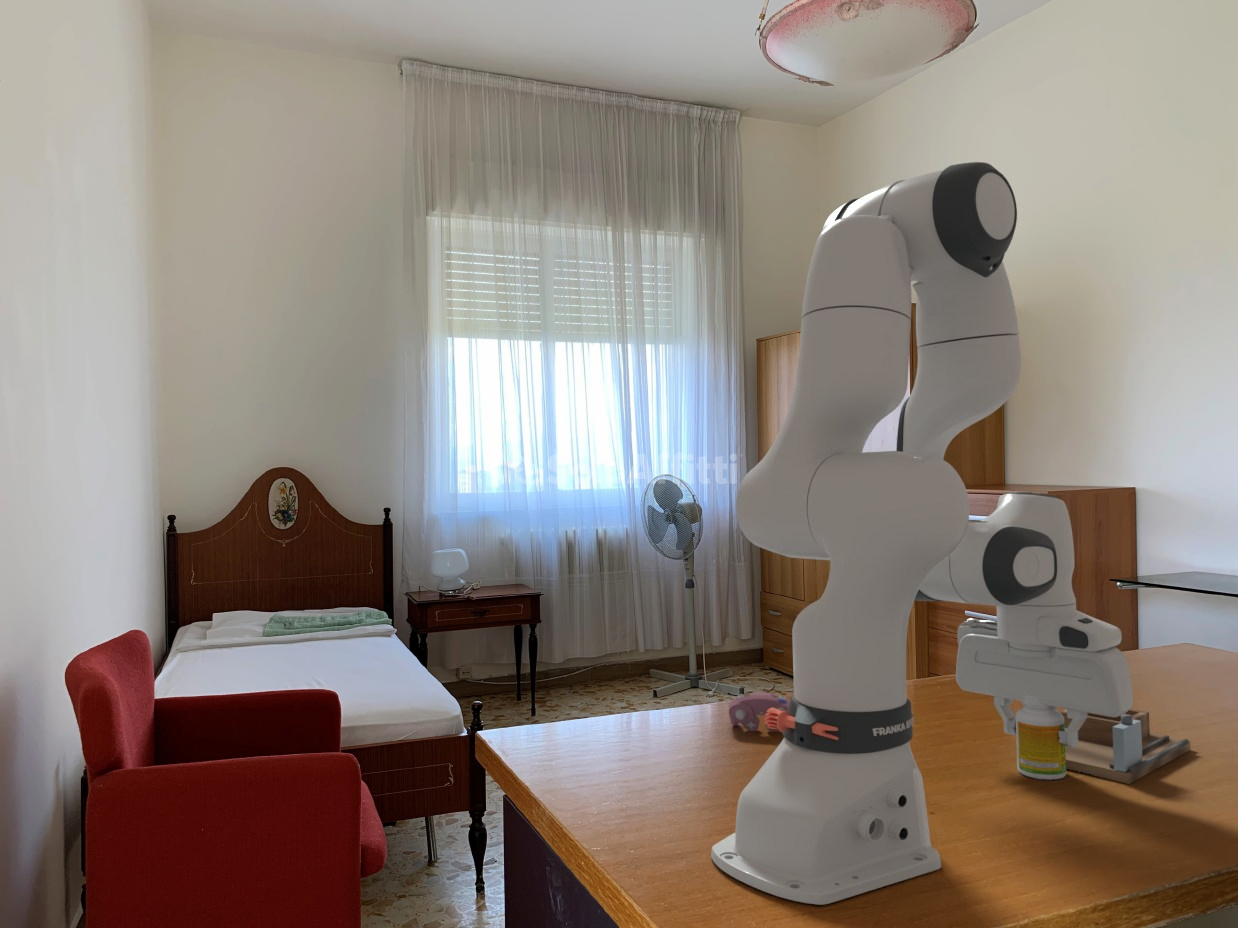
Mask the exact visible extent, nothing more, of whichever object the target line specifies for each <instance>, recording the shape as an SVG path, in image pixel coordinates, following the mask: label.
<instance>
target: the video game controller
mask: <svg viewBox="0 0 1238 928" xmlns="http://www.w3.org/2000/svg"><path fill="white" fill-rule="evenodd" d="M789 703H790V699H788V697H787V696H786V695H784V694H781V695H779V696H777V695H775V694H772V693H769V692H761V691H759V692H757V691H756V692H752V693H750V694H746V695H745V694H743V693H739V694H738V695H737V696H736V697H735V698H734V699H732V700H731V702H730V704H729V707H728V715H729V721H730V723H731V725H732V726H733V727H737V726H738V725H739V724H741V725H742V727H743V728H744V729H745V730H747V731H748V732H756V731H757V730H758V729H759V728H760V722H761V721H760V718H759V717H758V716H762V715H763V716H765V714H767V713H768V712H767V710H768V709H770V708H776V709H778V710H780V711H788V707H789ZM765 722H768V721H765ZM767 726H768V725H766V724H765V729H766V730H767V731H769V732H771V733H778V732H779V731H780V730H779V729H771V728H768V727H767Z"/></svg>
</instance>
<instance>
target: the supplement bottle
mask: <svg viewBox="0 0 1238 928" xmlns="http://www.w3.org/2000/svg"><path fill="white" fill-rule="evenodd" d="M1020 702H1021V705H1022V706H1023V707H1021V708H1019V709H1018V710H1017V711H1016V712H1015V718H1016V735H1015V741H1016V743H1015V744H1016V745H1015V746H1016V765H1017V767H1016V768H1017V771H1018V773H1020V774H1021V775H1022V776H1023V775H1024V776H1025V777H1029V778H1032V779H1037V780H1044V779H1045V780H1049V781H1050V780H1052V781H1053V779H1054V780H1061V779H1063V778H1065V777H1066V775H1067V769H1066V753H1065V746H1063V745H1060V744H1059V739H1060V737H1059V730H1062V729H1064V728H1065V726H1064V717H1063V715H1062V714H1061V713H1060V711H1059V710H1056V707H1053V706H1048V705H1043V704H1041V703H1040V702H1039V700H1038V698H1037V697H1036V696H1031V695H1025V698H1024V700H1023V701H1020Z"/></svg>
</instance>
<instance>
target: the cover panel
mask: <svg viewBox="0 0 1238 928" xmlns="http://www.w3.org/2000/svg"><path fill="white" fill-rule="evenodd" d="M1112 728H1113V755H1114V770H1118V771H1123V772H1126V771H1128V770H1129V768H1131V767H1133V766H1135V765H1136V764H1138V763H1140V762H1142V735H1141V721H1139V720H1133V719H1132V715H1129V714H1123V715H1121V723H1120V724H1118V725H1116V726H1113V727H1112Z"/></svg>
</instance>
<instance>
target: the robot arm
mask: <svg viewBox="0 0 1238 928" xmlns="http://www.w3.org/2000/svg"><path fill="white" fill-rule="evenodd" d="M1017 221H1018V208H1017V201H1016V198H1015V194H1014V191H1013V189H1012V186H1011V184H1010V182H1009V180H1008V179H1007V178H1006V177H1005V176H1004V174H1002V173H1001V172H1000V171H999V170H998V169H996V168H995V167H994V166H993V165H992V164H990V163H987V162H982V161H979V162H978V161H973V162H964V163H963V162H962V163H957V164H951V165H949V166H947V167H945V168H944V169H942V170H938V171H933V172H929V173H926V174H925V173H924V174H922V175H918V176H914V177H911V178H908V179H900V180H898V181H895V182H892V183H889V184H887V185H884V186H883V187H881V188H878V189H876V190H873V191H872V192H870V193H868V194H866V195H863V196H862V197H860V198H853V199H851V200H849V201H847V202H846V203H844V204H842V205H841V206H839V207H838V208H837V209H835V210H834V211H833V212H831V214H830V215H829V216H828V217H827V219H826V220H825V222H824V225H823V228H822V230H821V233H820V234H819V236H818V237H817V239H816V242H815V245H814V247H813V248H814V249H813V252H812V256H811V259H810V263H809V268H808V272H807V276H806V282H805V288H804V295H803V301H802V308H801V310H802V311H801V321H800V322H801V323H800V335H799V347H798V348H799V349H798V357H797V366H796V367H797V368H796V373H795V374H796V375H795V383H794V389H793V393H792V398H791V401H790V404H789V406H788V410H787V412H786V415H785V419H784V420H783V423H782V425H781V427H780V429H779V430H778V431H779V432H778V434H777V435H776V438H775V439H774V442H773V443H772V445H771V446H770V448H769V449H768V451H767V453H766V454H765V455H764V457H762V458H761V460H760V461H759V462H758V463H757V464H756V465H755V466H754V467H753V468H751V469H750V470H749V471H748V473H746V475H745V476H744V477H743V478H742V480H741V482H740V485H739V487H738V490H737V495H736V500H735V508H736V518H737V521H738V524H739V527H740V529H741V532H742V533H743V535H744V536H745V537H746V539H747V540H748V541H749V542H750V543H752V545H754V546H756V547H758V548H761V549H764V550H766V551H769V552H771V553H774V554H777V555H781V556H785V557H788V558H792V559H793V558H794V559H806V560H818V561H819V560H822V561H830V566H829V567H830V568H829V576H828V579H827V584H826V586H825V589H824V591H823V593H822V595H821V597H820V598H819V599H817V600H816V601H814V602H812V603H811V604H809V605H807V606H806V607H805V608H803V609H802V610H800V612H799V613H798V614H797V616H796V618H795V620H794V622H793V625H792V629H791V631H792V632H791V635H792V637H791V639H792V641H791V642H792V666H793V669H792V671H793V695H792V696H791V697H790V699H789V700H790V703H789V707H788V711H780V710H778V709H776V708H770V709H768V710H767V712H768V713H767V714H765V715H764V717H765V718H764V721H765V722H764V725H765V726H766V725H768V726H767V727H768V728H771V729H779V731H781V732H782V733H781V734H782V736H783V738H782V740H781V742H780V743H779V744H778V745H777V747H776V748H775V749H774V751H773V752H772V754H770V756H769V758H767V760H766V761H765V762H764V763H763V765H762V766H761V767H760V769H758V771H757V773H756V774H755V775H754V776H753V777H752V779H751V780H750V782H749V783H747V785H746V786H745V787H744V788H743V790H742V791H741V792H740V795H739V797H738V801H737V807H736V815H735V816H736V817H735V818H736V819H735V832H733V833H731V834H730V835H729V836H726V837H725V838H723V839H722V840H720V841H719V842H717V843H715V844H713V845H712V847H711V852H710V853H711V854H710V857H711V859H712V861H713V862H714V864H715V865H716V866H717V867H718V868H719V869H720V870H721V871H723V872H724V873H726V874H727V875H729V876H731V877H732V878H734V879H735V880H737V881H740V882H742V883H744V884H746V885H748V886H751V887H753V888H755V889H757V890H759V891H762V892H765V893H768V894H771V895H773V896H776V897H779V898H782V899H786V900H790V901H792V902H793V901H794V902H799V903H804V904H809V905H812V904H813V905H820V906H821V905H822V906H823V905H827V904H832V903H835V902H838V901H843V900H846V899H848V898H851V897H855V896H857V895H861V894H864V893H867V892H870V891H873V890H877V889H879V888H883V887H885V886H890V885H892V884H895V883H896V884H897V883H899V882H902V881H905V880H908V879H912V878H915V877H917V876H921V875H924V874H928V873H931V872H934V871H937V870H939V869H941V868H942V861H941V855H940V853H939V852H938V851H937V849H935V847H933V846H932V844H931V836H930V828H929V819H928V810H927V804H926V803H927V801H926V795H925V789H924V780H923V776H922V772H921V769H919V766H918V764H917V762H916V760H915V758H914V755H913V752H912V749H911V744H910V741H911V740H912V739H913V737H914V733H913V732H914V731H913V729H914V727H913V725H914V713H913V711H912V703H911V700H910V699H909V698H908V697H907V642H908V640H907V638H908V637H907V636H908V627H909V619H910V615H911V610H912V608H913V604H914V602H915V601H917V602H953V603H961V604H970V605H984V606H993V607H994V606H995V608H996V620H991V619H988V620H987V619H980V618H974V617H973V618H971V617H970V618H967V620H965V621H963V622H961V623H960V624H959V626H958V627H957V631H956V633H957V644H958V649H957V656H956V665H955V666H956V669H955V679H956V680H955V681H956V683H957V685H958V686H959V688H960V689H961V690H963V691H966V692H972V693H975V694H976V693H977V694H982V695H989V696H993V705H994V707H995V709H996V711H997V712H998V714H999V715H1000V717H1001V719H1002V720H1003V732H1004V734H1007V735H1013V736H1016V714H1014V712H1013V710H1012V708H1011V705H1010V704H1013V702H1014V700H1016V701H1020V702H1021V701H1023V700H1024V698H1025V695H1031V696H1036V697H1037V698H1038V700H1039V702H1040V703H1041V704H1043V705H1048V706H1053V707H1055V708H1060V709H1063V710H1065V709H1067V717H1068V718H1070V719H1072V721H1071V723H1070V724H1069V726H1068V728H1064V729H1062V730H1059V737H1060V739H1059V744H1060V745H1063V746H1068V747H1075V746H1077V745H1078V730H1079V729H1080V728H1081V726H1082V725H1083V723H1084V722H1085V720H1086V718H1087V713H1092V714H1098V715H1103V716H1109V717H1118V716H1120V715H1123V714H1125V713H1126V712H1127V711H1128V710H1129V709H1132V706H1133V701H1134V699H1133V698H1134V697H1133V685H1132V679H1131V672H1130V666H1129V661H1128V660H1127V658H1126V656H1125V654H1124V653H1123V652H1122V651H1121V650H1120V649H1119V648H1118V647H1116V646H1118V645H1120V644H1121V642H1122V638H1123V635H1122V630H1121V629H1120V628H1119V627H1118V626H1116V625H1113V624H1111V623H1109V622H1107V621H1103V620H1101V619H1098V618H1095V617H1093V616H1090V615H1088V614H1086V613H1084V612H1081V611H1080V610H1077V599H1076V596H1075V592H1074V591H1073V585H1072V584H1073V583H1072V579H1073V573H1074V569H1075V565H1076V564H1075V547H1074V537H1073V530H1072V523H1071V518H1070V517H1071V516H1070V513H1069V511H1068V508H1067V507H1068V506H1067V505H1066V503H1065V501H1064V500H1062V499H1061V498H1059V497H1058V496H1055V495H1052V494H1047V493H1041V492H1039V493H1038V492H1030V491H1029V492H1028V491H1012V492H1008V493H1004V494H1001V495H1000V496H999V498H998V502H997V505H996V508H995V510H994V511H993V512H992V513H990V514H989V515H988V516H987V517H985V518H983V519H980V520H979V521H980V522H979V521H978V522H977V521H976V522H969V520H970V513H971V512H970V500H969V494H968V491H967V488H966V486H965V483H964V482H963V480H962V478H961V476H960V474H959V473H958V472H957V470H956V469H955V468H954V467H953V466H952V465H951V464H950V463H949V462H948V461H946V460H944V458H945V454H946V451H947V449H948V446H949V445H950V443H951V441H953V439H955V438H956V437H957V435H959V434H960V433H961V432H962V431H964V430H965V429H967V428H969V427H971V426H973V424H976V423H978V422H979V421H981V420H983V419H985V418H987V417H989V416H990V415H992V414H993V413H995V412H996V411H997V410H998V409H999V408H1001V407H1002V406H1003V405H1004V404H1005V403H1006V402H1007V401H1008V400H1009V399H1010V397H1011V396H1012V394H1013V393H1014V392H1015V390H1016V388H1017V386H1018V384H1019V381H1020V376H1021V370H1022V369H1021V368H1022V357H1021V346H1020V336H1019V327H1018V326H1019V325H1018V319H1017V311H1016V306H1015V300H1014V297H1013V296H1014V295H1013V292H1012V289H1011V285H1010V281H1009V277H1008V274H1007V273H1008V272H1007V270H1006V267H1005V265H1004V262H1003V261H1004V257H1005V254H1006V253H1007V251H1008V249H1009V247H1010V245H1011V243H1012V240H1013V239H1014V234H1015V231H1016V227H1017ZM913 281H914V282H915V283H913V284H912V282H913ZM912 287H913V290H914V292H915V293H916V302H915V303H916V304H915V336H916V337H915V339H916V348H917V349H916V351H917V367H916V375H915V381H914V384H913V388H912V390H911V393H910V396H908V397H907V399H905V401H904V402H903V400H904V398H905V395H906V393H907V390H908V381H909V364H910V363H909V362H910V345H911V328H912V327H911V326H912V325H911V324H912ZM902 402H903V404H902V406H901V410H900V413H899V419H898V427H897V438H896V450H887V451H885V450H884V451H868V452H863V450H864V447H865V445H866V442H867V441H868V438H869V436H870V435H871V434H872V432H873V430H874V429H875V428H876V426H877V425H878V424H879V423H880V421H882V420H883V419H884V418H886V417H887V416H888V415H890V414H891V413H892V412H894V410H896V409H897V408H898V407H899V406H900V405H901V403H902ZM766 721H768V722H766Z"/></svg>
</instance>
